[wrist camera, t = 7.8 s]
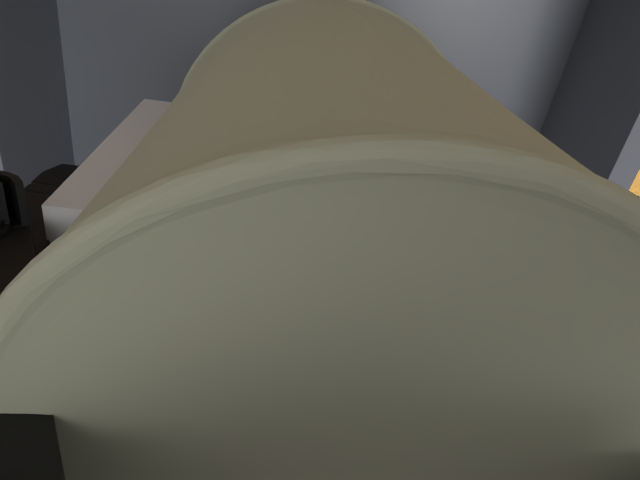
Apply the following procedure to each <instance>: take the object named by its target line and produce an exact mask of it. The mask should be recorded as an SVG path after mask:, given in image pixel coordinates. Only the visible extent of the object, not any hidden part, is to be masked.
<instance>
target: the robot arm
mask: <svg viewBox="0 0 640 480" xmlns="http://www.w3.org/2000/svg"><path fill="white" fill-rule="evenodd" d="M170 103H171V102H165V101H158V100H150V99H144V100H143V101H142V102H141V103H140V104H139V105H138V106H137V107H136V108H135V109H134V110H133V111H132V112H131V113H130V114H129V115H128V116H127V117H126V118H125V119H124V120H123V121H122V122H121V124H120V125H119V126H118V127H117V128H116V129H115V130H114V131H113V132H112V133H111V134H110V135H109V136H108V137H107V138H106V139H105V140H104V141H103V142H102V143H101V144H100V145H99V146H98V147H97V148H96V149H95V150H94V151H93V152H92V154H91V155H90V156H89V157H88V158H87V159H86V160H85V161H84V162H83V163H82V164H81V165H80V166H77V165H69V164H60V165H57V166H55V167H53V168H50V169H48V170H45V171H43V172H42V173H41V174H39V175H38V176H37V177H36V178H35V179H34V180H33V181H32V182H31V184H28V185H27V186H26V187H25V188H24V184H23V182H22V180H21V179H20V177H19V176H17V175H15V174H12V173H10V172H6V171H0V295H1V293H2V292H3V291H4V289H5V288H6V287H7V286H8V285H9V283H10V282H11V281H12V280H13V279H14V278H15V277H16V276H17V275H18V274H19V273H20V272H21V271H22V270H23V269H24V268H25V267H26V266H27V264H28V263H29V262H30V261H31V260H33V259H34V258H35V257H36V256H37V255H38V254H39V253H41V252H42V251H43V250H44V249H45V248H46V247H48V246H49V245H50V244H51V243H52V242H53V241H55V240H56V239H57V238H58V237H60V236H61V235H62V234H64V232H65V231H66V230H67V229H68V228H69V226H70V225H71V224H72V223H73V222H74V220H75V219H76V218H77V217H78V216H79V214H80V213H81V212H82V211H83V210H84V209H85V207H86V206H87V205H88V204H89V203H90V201H91V200H92V199H93V198H94V197H95V195H96V194H97V193H98V192H99V191H100V190H101V188H102V187H103V186H104V185H105V184H106V182H107V181H108V180H109V179H110V178H111V176H112V175H113V174H114V173H115V172H116V170H117V169H118V168H119V167H120V166H121V165H122V163H123V162H124V161H125V160H126V159H127V157H128V156H129V155H130V154H131V153H132V151H133V150H134V149H135V148H136V147H137V145H138V144H139V143H140V142H141V140H142V139H143V138H144V136H145V135H146V134H147V133H148V131H149V130H150V129H151V128H152V126H153V125H154V124H155V122H156V121H157V120H158V119H159V117H160V116H161V115H162V114H163V112H164V111H165V110H166V108H167V107H168V106H169V105H170ZM0 480H65V475H64V470H63V464H62V459H61V453H60V448H59V442H58V437H57V431H56V426H55V420H54V415H46V414H10V413H0Z"/></svg>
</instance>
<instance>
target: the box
mask: <svg viewBox="0 0 640 480" xmlns="http://www.w3.org/2000/svg"><path fill="white" fill-rule="evenodd" d="M275 1H278V0H0V171H6V172H10V173H12V174H15V175H17V176H19V177H20V179H21V180H22V182H23V184H24V188H25V187H26V186H27V185H28V184H31V182H32V181H33V180H34V179H35V178H36V177H37V176H38V175H39V174H41V173H42V172H43V171H45V170H48V169H50V168H53V167H55V166H57V165H60V164H69V165H77V166H80V165H81V164H82V163H83V162H84V161H85V160H86V159H87V158H88V157H89V156H90V155H91V154H92V152H93V151H94V150H95V149H96V148H97V147H98V146H99V145H100V144H101V143H102V142H103V141H104V140H105V139H106V138H107V137H108V136H109V135H110V134H111V133H112V132H113V131H114V130H115V129H116V128H117V127H118V126H119V125H120V124H121V122H122V121H123V120H124V119H125V118H126V117H127V116H128V115H129V114H130V113H131V112H132V111H133V110H134V109H135V108H136V107H137V106H138V105H139V104H140V103H141V102H142V101H143V100H144V99H150V100H158V101H165V102H172V101H173V100H174V98H175V97H176V96H177V94H178V93H179V92H180V89H181V86H182V84H183V81H184V79H185V77H186V75H187V73H188V72H189V70H190V68H191V66H192V65H193V63H194V62H195V60H196V59H197V58H198V56H199V55H200V53H201V52H202V51H203V49H204V48H205V47H206V46H207V45H208V44H209V43H210V42H211V41H212V40H213V39H214V38H215V37H216V36H217V35H218V34H219V33H220V32H221V31H222V30H223V29H225V28H226V27H227V26H229V25H230V24H231V23H233V22H234V21H236V20H237V19H238V18H240V17H242V16H244V15H245V14H247V13H249V12H251V11H253V10H255V9H257V8H259V7H261V6H264V5H266V4H269V3H272V2H275ZM366 1H369V2H372V3H375V4H377V5H380V6H382V7H385V8H387V9H389V10H391V11H393V12H395V13H396V14H398V15H400V16H402V17H403V18H405V19H407V20H408V21H409V22H411V23H412V24H413V25H415V26H416V27H417V28H419V29H420V30H421V31H422V32H423V33H424V34H425V35H426V36H427V37H428V38H429V39H430V40H431V41H432V42H433V43H434V44H435V45H436V47H437V48H438V49H439V50H440V52H441V53H442V54H443V56H444V57H445V58H446V60H447V61H448V62H449V63H450V64H452V65H453V66H454V67H455V68H456V69H458V70H459V71H460V72H461V73H462V74H464V75H465V76H466V77H468V78H469V79H470V80H471V81H473V82H474V83H475V84H476V85H478V86H479V87H480V88H482V89H483V90H484V91H485V92H487V93H488V94H489V95H491V96H492V97H493V98H494V99H496V100H497V101H498V102H500V103H501V104H502V105H503V106H505V107H506V108H507V109H509V110H510V111H511V112H512V113H514V114H515V115H516V116H517V117H519V118H520V119H521V120H523V121H524V122H525V123H527V124H528V125H529V126H531V127H532V128H533V129H535V130H536V131H537V132H539V133H540V134H541V135H543V136H544V137H545V138H547V139H548V140H549V141H551V142H552V143H553V144H555V145H556V146H557V147H559V148H560V149H562V150H563V151H564V152H566V153H567V154H568V155H570V156H571V157H572V158H574V159H575V160H576V161H578V162H579V163H580V164H582V165H583V166H585V167H586V168H587V169H589V170H590V171H592V172H593V173H595V174H596V175H599V176H601V177H603V178H605V179H607V180H609V181H611V182H613V183H615V184H617V185H619V186H621V187H622V188H624V189H626V190H628V191H629V189H630V187H631V185H632V183H633V181H634V179H635V177H636V175H637V173H638V171H639V169H640V0H366Z"/></svg>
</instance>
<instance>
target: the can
mask: <svg viewBox="0 0 640 480" xmlns="http://www.w3.org/2000/svg"><path fill="white" fill-rule="evenodd" d="M0 413H10V414H46V415H54V420H55V426H56V431H57V437H58V442H59V448H60V453H61V459H62V464H63V470H64V475H65V480H640V197H639V196H637V195H635V194H633V193H632V192H630V191H628V190H626V189H624V188H622V187H621V186H619V185H617V184H615V183H613V182H611V181H609V180H607V179H605V178H603V177H601V176H599V175H596V174H595V173H593V172H592V171H590V170H589V169H587V168H586V167H585V166H583V165H582V164H580V163H579V162H578V161H576V160H575V159H574V158H572V157H571V156H570V155H568V154H567V153H566V152H564V151H563V150H562V149H560V148H559V147H557V146H556V145H555V144H553V143H552V142H551V141H549V140H548V139H547V138H545V137H544V136H543V135H541V134H540V133H539V132H537V131H536V130H535V129H533V128H532V127H531V126H529V125H528V124H527V123H525V122H524V121H523V120H521V119H520V118H519V117H517V116H516V115H515V114H514V113H512V112H511V111H510V110H509V109H507V108H506V107H505V106H503V105H502V104H501V103H500V102H498V101H497V100H496V99H494V98H493V97H492V96H491V95H489V94H488V93H487V92H485V91H484V90H483V89H482V88H480V87H479V86H478V85H476V84H475V83H474V82H473V81H471V80H470V79H469V78H468V77H466V76H465V75H464V74H462V73H461V72H460V71H459V70H458V69H456V68H455V67H454V66H453V65H452V64H450V63H449V62H448V61H447V60H446V58H445V57H444V56H443V54H442V53H441V52H440V50H439V49H438V48H437V47H436V45H435V44H434V43H433V42H432V41H431V40H430V39H429V38H428V37H427V36H426V35H425V34H424V33H423V32H422V31H421V30H420V29H419V28H417V27H416V26H415V25H413V24H412V23H411V22H409V21H408V20H407V19H405V18H403V17H402V16H400V15H398V14H396V13H395V12H393V11H391V10H389V9H387V8H385V7H382V6H380V5H377V4H375V3H372V2H369V1H366V0H278V1H275V2H272V3H269V4H266V5H264V6H261V7H259V8H257V9H255V10H253V11H251V12H249V13H247V14H245V15H244V16H242V17H240V18H238V19H237V20H236V21H234V22H233V23H231V24H230V25H229V26H227V27H226V28H225V29H223V30H222V31H221V32H220V33H219V34H218V35H217V36H216V37H215V38H214V39H213V40H212V41H211V42H210V43H209V44H208V45H207V46H206V47H205V48H204V49H203V51H202V52H201V53H200V55H199V56H198V58H197V59H196V60H195V62H194V63H193V65H192V66H191V68H190V70H189V72H188V73H187V75H186V77H185V79H184V81H183V84H182V86H181V89H180V92H179V93H178V94H177V96H176V97H175V98H174V100H173V101H172V102H171V103H170V105H169V106H168V107H167V108H166V110H165V111H164V112H163V114H162V115H161V116H160V117H159V119H158V120H157V121H156V122H155V124H154V125H153V126H152V128H151V129H150V130H149V131H148V133H147V134H146V135H145V136H144V138H143V139H142V140H141V142H140V143H139V144H138V145H137V147H136V148H135V149H134V150H133V151H132V153H131V154H130V155H129V156H128V157H127V159H126V160H125V161H124V162H123V163H122V165H121V166H120V167H119V168H118V169H117V170H116V172H115V173H114V174H113V175H112V176H111V178H110V179H109V180H108V181H107V182H106V184H105V185H104V186H103V187H102V188H101V190H100V191H99V192H98V193H97V194H96V195H95V197H94V198H93V199H92V200H91V201H90V203H89V204H88V205H87V206H86V207H85V209H84V210H83V211H82V212H81V213H80V214H79V216H78V217H77V218H76V219H75V220H74V222H73V223H72V224H71V225H70V226H69V228H68V229H67V230H66V231H65V232H64V234H62V235H61V236H60V237H58V238H57V239H56V240H55V241H53V242H52V243H51V244H50V245H49V246H48V247H46V248H45V249H44V250H43V251H42V252H41V253H39V254H38V255H37V256H36V257H35V258H34V259H33V260H31V261H30V262H29V263H28V264H27V266H26V267H25V268H24V269H23V270H22V271H21V272H20V273H19V274H18V275H17V276H16V277H15V278H14V279H13V280H12V281H11V282H10V283H9V285H8V286H7V287H6V288H5V289H4V291H3V292H2V293H1V295H0Z"/></svg>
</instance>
